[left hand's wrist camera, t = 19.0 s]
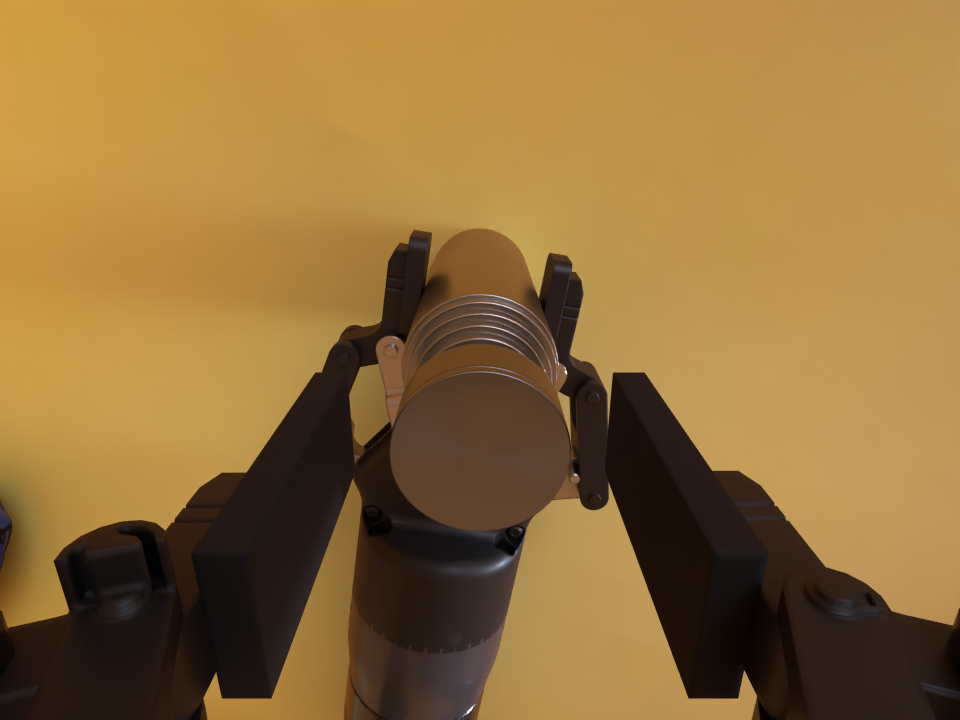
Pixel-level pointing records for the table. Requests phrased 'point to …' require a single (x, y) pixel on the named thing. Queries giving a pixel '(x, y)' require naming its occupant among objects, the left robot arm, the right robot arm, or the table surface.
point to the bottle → (479, 304)
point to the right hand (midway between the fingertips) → (490, 248)
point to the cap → (479, 439)
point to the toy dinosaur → (4, 532)
